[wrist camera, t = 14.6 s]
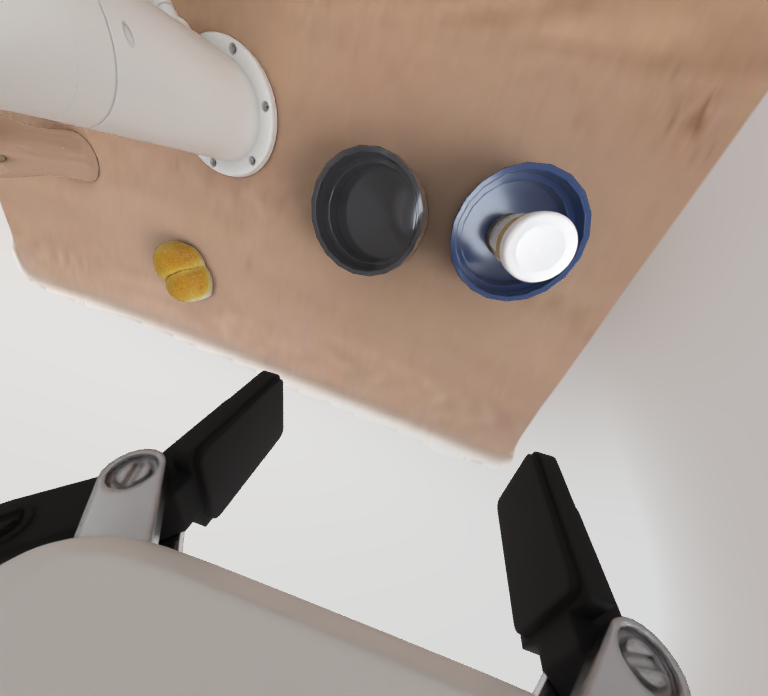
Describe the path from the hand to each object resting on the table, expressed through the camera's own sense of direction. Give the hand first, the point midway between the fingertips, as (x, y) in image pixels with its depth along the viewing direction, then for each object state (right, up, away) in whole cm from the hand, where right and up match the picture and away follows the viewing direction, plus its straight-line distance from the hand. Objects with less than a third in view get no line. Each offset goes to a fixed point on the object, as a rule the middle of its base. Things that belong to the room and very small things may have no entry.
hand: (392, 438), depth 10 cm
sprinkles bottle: (+13, +16, +20) cm, 28 cm away
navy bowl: (+13, +16, +20) cm, 29 cm away
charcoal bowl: (-1, +19, +22) cm, 29 cm away
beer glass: (-43, +30, +28) cm, 60 cm away
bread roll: (-30, +15, +32) cm, 47 cm away
